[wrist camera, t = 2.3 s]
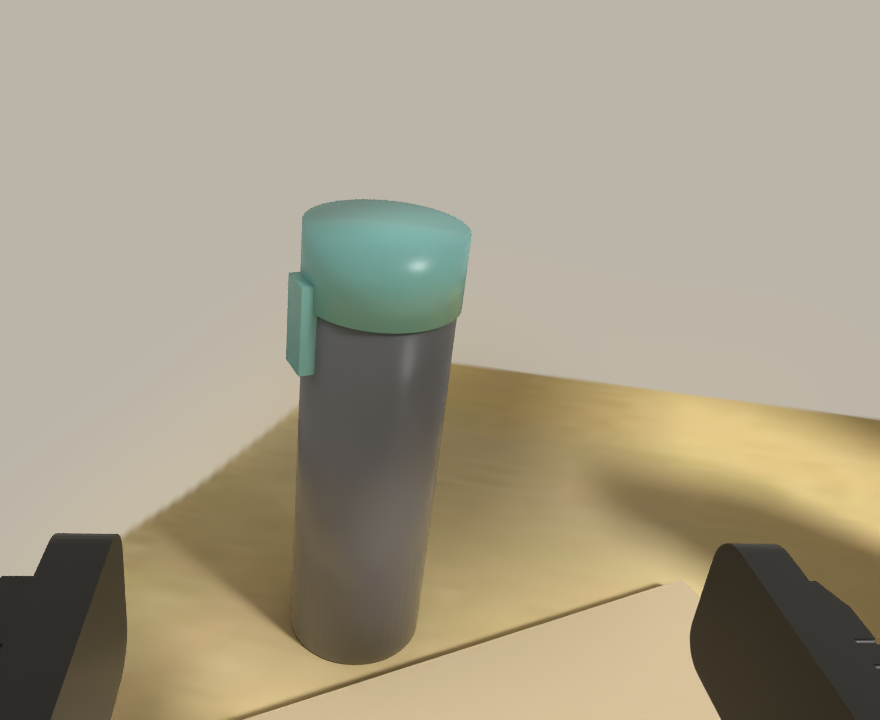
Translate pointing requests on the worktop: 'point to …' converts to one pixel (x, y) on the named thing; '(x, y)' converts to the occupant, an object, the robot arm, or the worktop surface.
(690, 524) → the worktop surface
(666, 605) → the beige flat board
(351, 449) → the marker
